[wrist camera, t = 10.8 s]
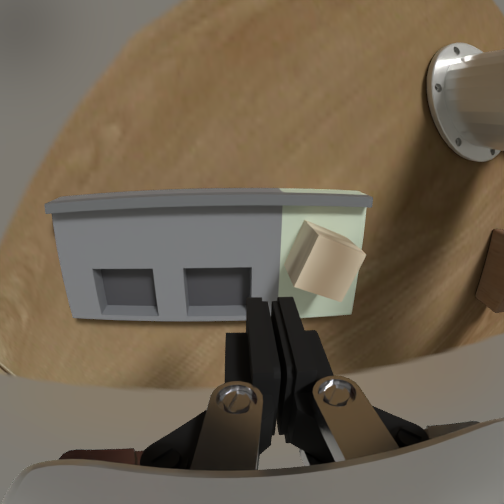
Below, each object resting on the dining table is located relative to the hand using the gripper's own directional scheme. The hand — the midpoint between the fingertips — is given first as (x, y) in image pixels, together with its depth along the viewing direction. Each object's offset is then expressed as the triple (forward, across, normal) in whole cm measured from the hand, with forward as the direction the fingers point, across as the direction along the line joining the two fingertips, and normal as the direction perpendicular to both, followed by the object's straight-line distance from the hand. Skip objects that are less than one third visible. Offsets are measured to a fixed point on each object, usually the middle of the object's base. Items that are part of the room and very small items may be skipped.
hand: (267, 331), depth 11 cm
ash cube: (+14, -5, +2) cm, 15 cm away
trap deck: (+15, +4, +3) cm, 16 cm away
